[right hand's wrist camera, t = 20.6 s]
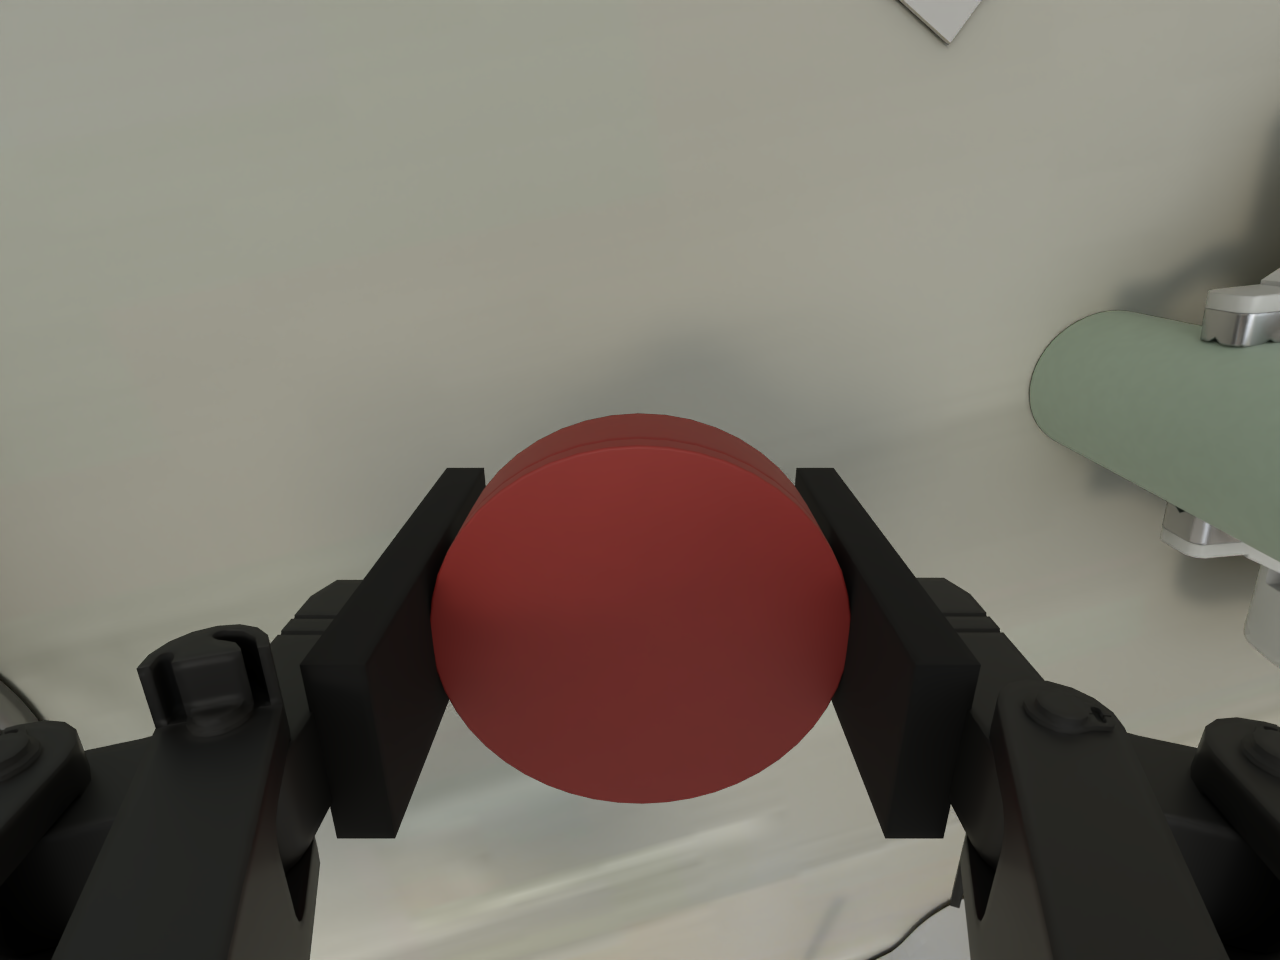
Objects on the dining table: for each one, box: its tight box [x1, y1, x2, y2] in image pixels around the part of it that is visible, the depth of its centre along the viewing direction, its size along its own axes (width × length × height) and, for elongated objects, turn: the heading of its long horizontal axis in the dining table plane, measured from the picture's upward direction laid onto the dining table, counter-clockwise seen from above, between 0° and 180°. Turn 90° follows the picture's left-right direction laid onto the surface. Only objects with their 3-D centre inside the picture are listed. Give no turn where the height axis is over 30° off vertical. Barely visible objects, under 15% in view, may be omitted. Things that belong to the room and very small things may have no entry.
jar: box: [1030, 310, 1280, 562], centre depth 20 cm, size 6×6×16 cm
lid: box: [430, 413, 851, 804], centre depth 11 cm, size 6×6×2 cm
